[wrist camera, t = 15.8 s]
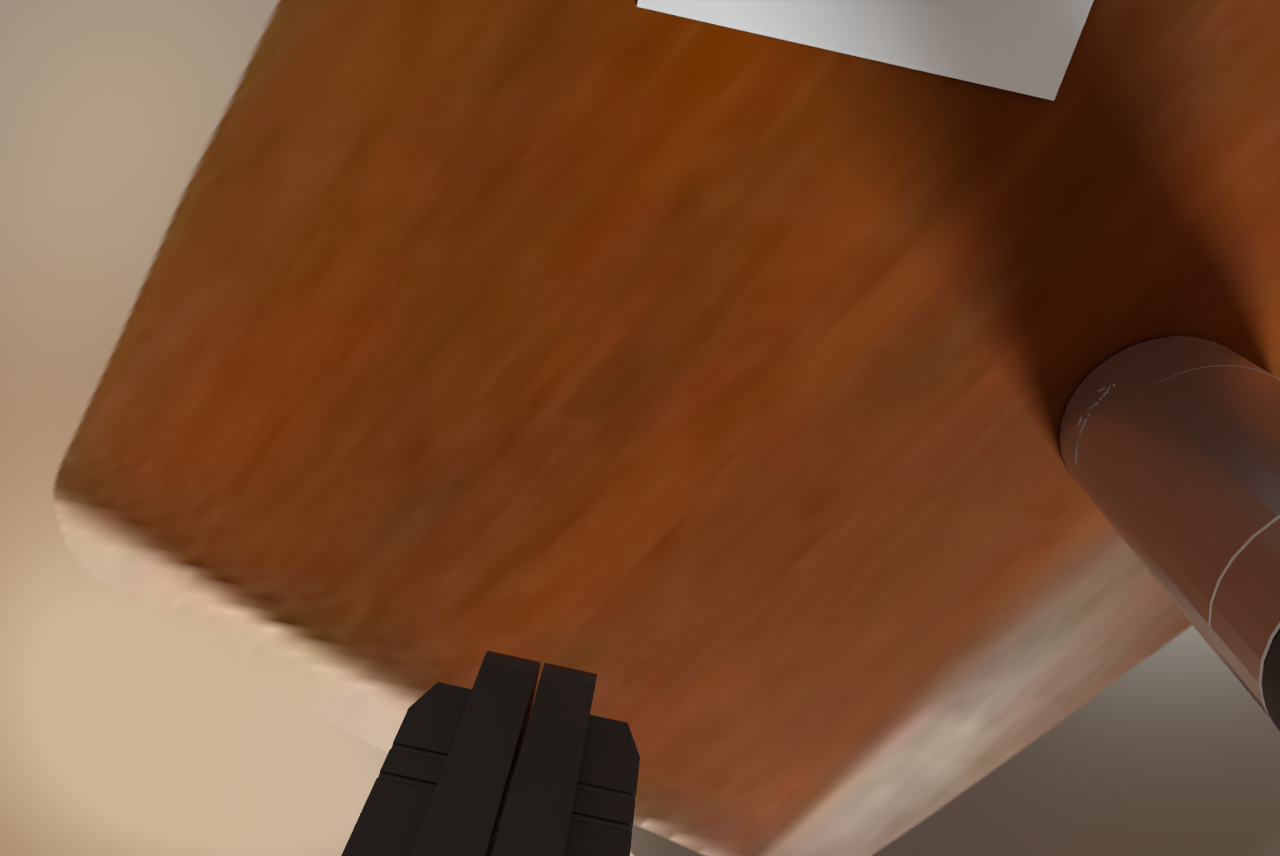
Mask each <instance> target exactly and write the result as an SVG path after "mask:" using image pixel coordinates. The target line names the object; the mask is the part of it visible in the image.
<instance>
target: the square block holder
mask: <svg viewBox="0 0 1280 856" xmlns="http://www.w3.org/2000/svg"><path fill="white" fill-rule="evenodd" d="M1093 1H1094V0H638V3H637V7H641V8H645V9H649V10H654V11H658V12H663V13H667V14H672V15H676V16H680V17H685V18H689V19H694V20H698V21H703V22H707V23H711V24H716V25H720V26H725V27H729V28H733V29H738V30H742V31H747V32H751V33H756V34H760V35H764V36H769V37H773V38H778V39H782V40H787V41H791V42H795V43H800V44H804V45H809V46H813V47H818V48H822V49H826V50H831V51H835V52H840V53H844V54H849V55H853V56H857V57H862V58H866V59H871V60H875V61H880V62H884V63H888V64H893V65H897V66H902V67H906V68H910V69H915V70H919V71H924V72H928V73H933V74H937V75H941V76H946V77H950V78H955V79H959V80H964V81H968V82H972V83H977V84H981V85H986V86H990V87H995V88H999V89H1003V90H1008V91H1012V92H1017V93H1021V94H1026V95H1030V96H1034V97H1039V98H1043V99H1048V100H1053V101H1054V100H1055V97H1056V95H1057V92H1058V90H1059V87H1060V85H1061V82H1062V80H1063V77H1064V75H1065V72H1066V70H1067V67H1068V64H1069V62H1070V59H1071V57H1072V54H1073V52H1074V49H1075V47H1076V44H1077V42H1078V39H1079V37H1080V34H1081V32H1082V29H1083V27H1084V24H1085V21H1086V19H1087V16H1088V14H1089V11H1090V9H1091V6H1092V4H1093Z"/></svg>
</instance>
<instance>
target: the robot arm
mask: <svg viewBox="0 0 1280 856" xmlns="http://www.w3.org/2000/svg"><path fill="white" fill-rule="evenodd" d="M1059 440H1060V447H1061V454H1062V457H1063V460H1064V462H1065V464H1066V466H1067V469H1068V471H1069V472H1070V473H1071V475H1072V476H1073V477H1074V478H1075V480H1076V481H1077V482H1078V483H1079V485H1080V486H1081V487H1082V488H1083V490H1084V491H1085V492H1086V493H1087V495H1088V496H1089V497H1090V498H1091V500H1092V501H1093V502H1094V503H1095V505H1096V506H1097V507H1098V508H1099V510H1100V511H1101V512H1102V514H1103V515H1104V516H1105V518H1106V519H1107V520H1108V521H1109V523H1110V524H1111V525H1112V526H1113V528H1114V529H1115V530H1116V531H1117V532H1118V534H1119V535H1120V536H1121V537H1122V539H1123V540H1124V541H1125V542H1126V544H1127V545H1128V546H1129V547H1130V548H1131V550H1132V551H1133V552H1134V553H1135V555H1136V556H1137V557H1138V558H1139V560H1140V561H1141V562H1142V563H1143V564H1144V566H1145V567H1146V568H1147V569H1148V571H1149V572H1150V573H1151V574H1152V576H1153V577H1154V578H1155V579H1156V580H1157V582H1158V583H1159V584H1160V585H1161V587H1162V588H1163V589H1164V590H1165V592H1166V593H1167V594H1168V595H1169V596H1170V598H1171V599H1172V600H1173V601H1174V603H1175V604H1176V605H1177V606H1178V608H1179V609H1180V610H1181V611H1182V612H1183V614H1184V615H1185V616H1186V617H1187V619H1188V620H1189V621H1190V622H1191V624H1192V625H1193V626H1194V627H1195V628H1196V630H1197V631H1198V632H1199V633H1200V635H1201V636H1202V637H1203V638H1204V640H1205V641H1206V642H1207V643H1208V644H1209V646H1210V647H1211V648H1212V649H1213V651H1214V652H1215V653H1216V654H1217V655H1218V657H1219V658H1220V659H1221V660H1222V662H1223V663H1224V664H1225V665H1226V666H1227V667H1228V668H1229V670H1230V671H1231V672H1232V673H1233V675H1234V676H1235V677H1236V678H1237V680H1238V681H1239V682H1240V683H1241V684H1242V686H1243V687H1244V688H1245V689H1246V691H1247V692H1248V693H1249V694H1250V695H1251V696H1252V698H1253V699H1254V700H1255V702H1256V703H1257V704H1258V705H1259V707H1260V708H1261V709H1262V710H1263V711H1264V713H1265V714H1266V715H1267V716H1268V718H1269V719H1270V720H1271V721H1272V722H1273V724H1274V725H1275V726H1276V727H1277V728H1278V730H1279V731H1280V379H1278V378H1277V377H1275V376H1273V375H1272V374H1270V373H1268V372H1267V371H1265V370H1263V369H1262V368H1260V367H1258V366H1257V365H1255V364H1253V363H1252V362H1250V361H1248V360H1247V359H1245V358H1243V357H1242V356H1240V355H1239V354H1237V353H1235V352H1234V351H1232V350H1230V349H1228V348H1226V347H1224V346H1222V345H1220V344H1218V343H1216V342H1214V341H1210V340H1206V339H1202V338H1197V337H1186V336H1170V337H1164V338H1158V339H1152V340H1148V341H1145V342H1142V343H1139V344H1136V345H1134V346H1131V347H1128V348H1126V349H1125V350H1123V351H1121V352H1119V353H1117V354H1115V355H1113V356H1112V357H1110V358H1108V359H1107V360H1106V361H1105V362H1103V363H1102V364H1101V365H1099V366H1098V367H1097V368H1096V369H1094V370H1093V371H1092V372H1091V373H1090V374H1089V375H1088V376H1087V377H1086V378H1085V380H1084V381H1083V382H1082V383H1081V384H1080V385H1079V386H1078V387H1077V389H1076V391H1075V392H1074V394H1073V396H1072V397H1071V399H1070V401H1069V402H1068V404H1067V407H1066V410H1065V412H1064V415H1063V418H1062V421H1061V429H1060V438H1059ZM539 669H540V662H537V661H533V660H528V659H523V658H519V657H514V656H510V655H505V654H500V653H496V652H491V651H487V653H486V655H485V657H484V660H483V662H482V665H481V668H480V670H479V673H478V676H477V678H476V681H475V684H474V686H473V689H467V688H463V687H458V686H453V685H449V684H444V683H439V682H438V683H436V684H435V685H434V686H433V687H432V688H431V689H430V690H429V691H427V692H426V693H425V694H424V695H423V696H422V697H421V698H420V699H418V700H417V701H416V702H415V703H414V704H413V705H412V706H411V707H409V709H408V711H407V713H406V715H405V718H404V720H403V722H402V724H401V726H400V729H399V731H398V733H397V735H396V737H395V740H394V742H393V746H392V749H390V751H389V753H388V755H387V757H386V759H385V762H384V764H383V766H382V768H381V770H380V774H379V777H378V778H377V779H376V781H375V783H374V786H373V788H372V790H371V792H370V794H369V797H368V799H367V801H366V803H365V805H364V807H363V810H362V812H361V814H360V816H359V819H358V821H357V823H356V825H355V827H354V829H353V832H352V834H351V836H350V838H349V840H348V843H347V845H346V847H345V849H344V851H343V854H342V856H630V847H631V836H632V832H631V831H632V826H633V818H634V808H635V796H636V789H637V780H638V770H639V760H640V757H639V754H638V751H637V748H636V745H635V743H634V740H633V737H632V734H631V731H630V729H629V726H628V723H626V722H621V721H617V720H612V719H607V718H603V717H598V716H594V715H590V710H591V705H592V699H593V694H594V689H595V683H596V677H597V674H594V673H589V672H585V671H580V670H575V669H571V668H566V667H562V666H557V665H552V664H548V663H545V664H544V667H543V670H542V674H541V678H540V681H539V685H538V689H537V692H536V696H535V700H534V695H535V690H536V685H537V680H538V674H539ZM533 700H534V703H533ZM532 705H533V707H532ZM531 710H532V711H531Z"/></svg>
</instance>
